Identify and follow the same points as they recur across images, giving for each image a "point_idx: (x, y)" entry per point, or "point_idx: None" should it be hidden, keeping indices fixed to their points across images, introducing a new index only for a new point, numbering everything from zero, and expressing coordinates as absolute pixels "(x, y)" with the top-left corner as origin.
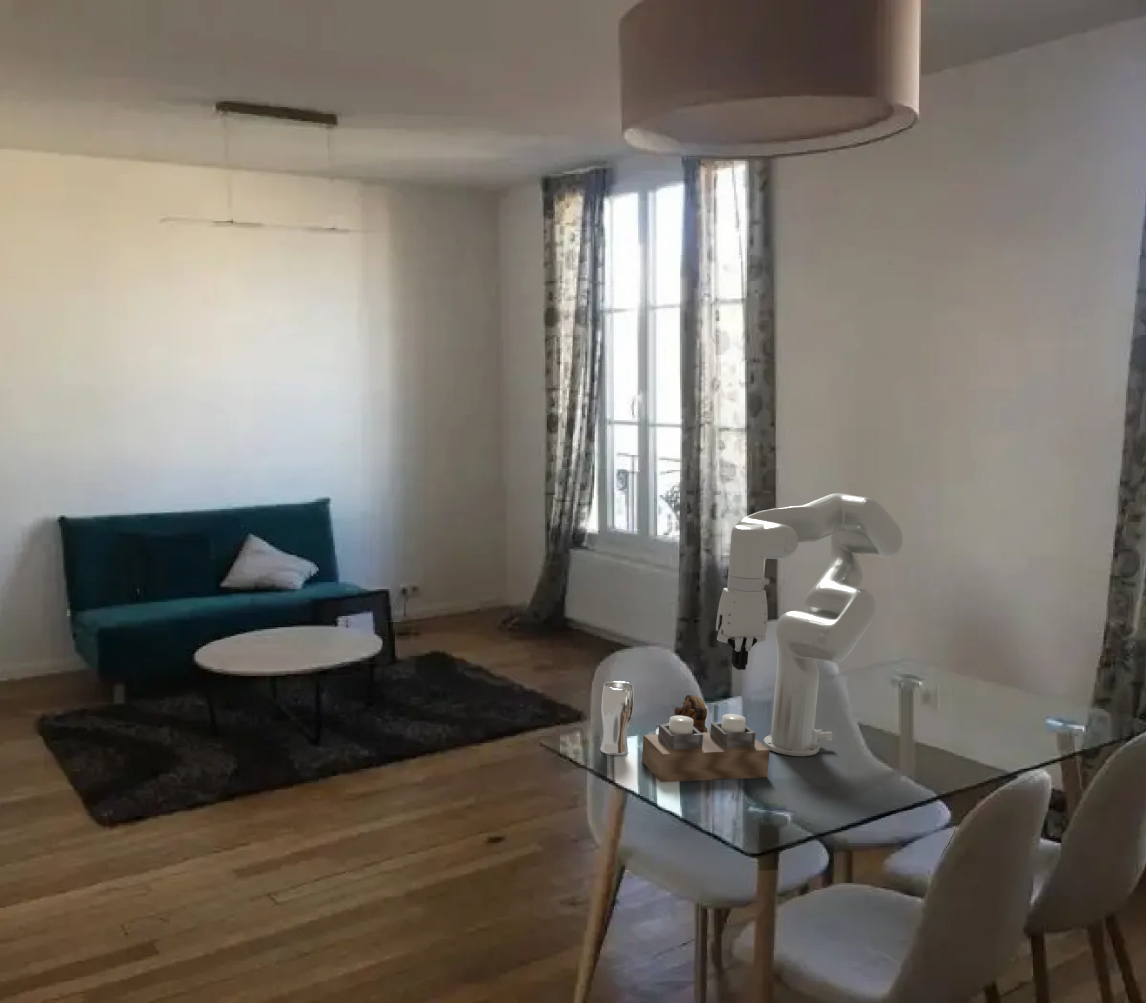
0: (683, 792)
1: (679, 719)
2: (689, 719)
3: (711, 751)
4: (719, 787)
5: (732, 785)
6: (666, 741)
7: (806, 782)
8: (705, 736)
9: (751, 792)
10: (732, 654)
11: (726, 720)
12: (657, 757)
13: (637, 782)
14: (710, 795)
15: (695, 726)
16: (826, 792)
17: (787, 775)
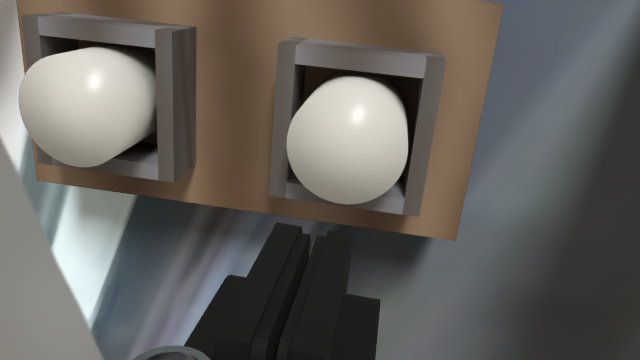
0: (134, 231)
1: (61, 113)
2: (108, 124)
3: (218, 199)
4: (250, 227)
5: (297, 224)
6: None
7: (550, 265)
8: (271, 32)
9: None
10: (196, 335)
11: (291, 166)
12: None
13: (26, 133)
14: (200, 268)
15: None
16: (553, 342)
17: (529, 199)
